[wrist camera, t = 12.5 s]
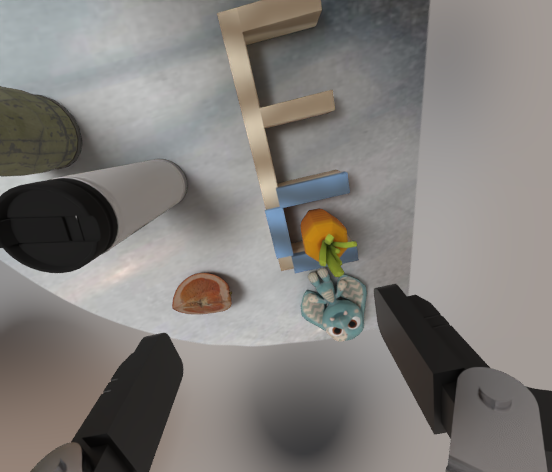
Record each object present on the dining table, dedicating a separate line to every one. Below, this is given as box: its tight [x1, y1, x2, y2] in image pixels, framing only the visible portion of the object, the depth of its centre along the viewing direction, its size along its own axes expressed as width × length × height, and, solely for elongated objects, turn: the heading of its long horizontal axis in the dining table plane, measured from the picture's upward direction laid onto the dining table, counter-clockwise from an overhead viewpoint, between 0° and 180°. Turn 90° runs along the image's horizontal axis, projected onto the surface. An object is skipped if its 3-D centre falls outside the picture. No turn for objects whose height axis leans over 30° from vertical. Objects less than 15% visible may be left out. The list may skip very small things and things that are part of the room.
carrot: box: [301, 209, 357, 277], centre depth 30 cm, size 5×5×15 cm
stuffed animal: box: [301, 267, 367, 341], centre depth 39 cm, size 11×7×12 cm
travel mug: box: [0, 159, 187, 273], centre depth 26 cm, size 6×7×20 cm
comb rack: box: [217, 0, 359, 273], centre depth 31 cm, size 29×10×5 cm, turn 13°
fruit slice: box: [172, 273, 232, 314], centre depth 39 cm, size 8×7×5 cm
